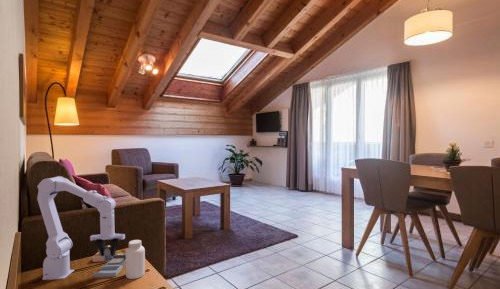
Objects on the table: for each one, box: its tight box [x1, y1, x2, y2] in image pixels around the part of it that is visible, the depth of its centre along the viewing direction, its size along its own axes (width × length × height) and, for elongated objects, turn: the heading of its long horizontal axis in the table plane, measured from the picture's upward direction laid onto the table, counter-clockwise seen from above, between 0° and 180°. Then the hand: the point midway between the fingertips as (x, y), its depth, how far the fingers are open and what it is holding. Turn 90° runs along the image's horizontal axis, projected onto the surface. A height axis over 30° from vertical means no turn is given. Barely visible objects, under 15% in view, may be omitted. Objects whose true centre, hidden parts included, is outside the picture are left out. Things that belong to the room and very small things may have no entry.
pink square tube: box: [92, 251, 105, 263], centre depth 143 cm, size 7×7×3 cm
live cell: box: [103, 244, 113, 262], centre depth 128 cm, size 4×4×6 cm
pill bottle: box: [125, 239, 146, 280], centre depth 126 cm, size 8×8×15 cm
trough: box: [92, 265, 124, 279], centre depth 128 cm, size 10×8×2 cm
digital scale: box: [103, 253, 126, 267], centre depth 137 cm, size 10×8×3 cm
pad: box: [109, 258, 124, 265], centre depth 137 cm, size 5×5×1 cm
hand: (108, 255), depth 128 cm, fingers closed on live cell, 4 cm apart
